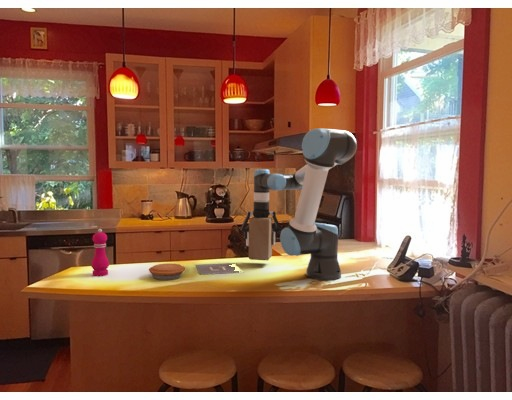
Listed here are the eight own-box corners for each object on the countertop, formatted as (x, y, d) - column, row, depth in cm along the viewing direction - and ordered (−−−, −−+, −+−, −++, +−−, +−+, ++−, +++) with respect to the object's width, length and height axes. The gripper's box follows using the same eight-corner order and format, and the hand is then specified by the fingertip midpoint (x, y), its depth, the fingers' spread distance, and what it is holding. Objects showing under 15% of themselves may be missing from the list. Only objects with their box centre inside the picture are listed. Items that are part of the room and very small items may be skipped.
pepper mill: (92, 277, 179) (91, 230, 178) (90, 273, 185) (89, 228, 184) (110, 275, 182) (110, 229, 181) (107, 272, 189) (107, 227, 187)
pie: (146, 274, 186) (146, 263, 186) (181, 271, 192) (181, 260, 191) (151, 283, 172) (151, 270, 171) (189, 279, 177) (189, 268, 177)
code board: (244, 272, 191) (244, 272, 191) (199, 274, 186) (199, 274, 186) (235, 263, 210) (235, 263, 210) (195, 264, 205) (195, 264, 205)
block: (268, 261, 201) (269, 219, 200) (248, 259, 203) (248, 218, 202) (272, 256, 211) (272, 216, 209) (252, 255, 213) (253, 215, 211)
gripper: (283, 200, 211) (282, 243, 213) (234, 200, 206) (234, 244, 207) (288, 201, 204) (287, 245, 206) (237, 201, 198) (237, 247, 200)
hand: (260, 245), depth 206 cm, fingers closed on block, 12 cm apart
